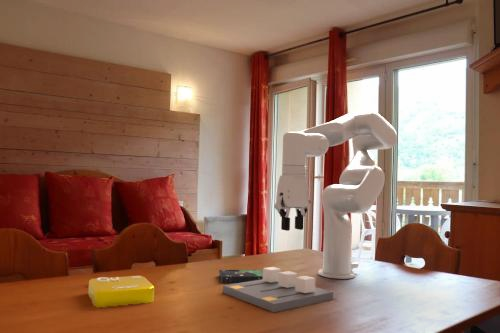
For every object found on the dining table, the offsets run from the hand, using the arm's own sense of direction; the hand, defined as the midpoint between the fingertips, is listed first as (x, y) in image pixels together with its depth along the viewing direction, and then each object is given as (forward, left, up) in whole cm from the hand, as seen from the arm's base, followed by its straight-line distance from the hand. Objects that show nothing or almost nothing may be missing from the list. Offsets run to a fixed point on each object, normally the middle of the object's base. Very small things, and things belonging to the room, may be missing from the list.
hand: (292, 229), depth 138 cm
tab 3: (+8, +14, -15) cm, 22 cm away
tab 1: (+8, 0, -15) cm, 17 cm away
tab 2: (+8, +7, -15) cm, 18 cm away
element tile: (+49, -14, -18) cm, 54 cm away
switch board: (+12, +7, -17) cm, 22 cm away
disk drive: (+8, -14, -18) cm, 24 cm away
